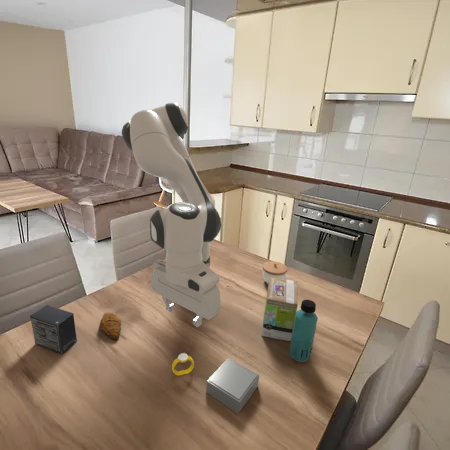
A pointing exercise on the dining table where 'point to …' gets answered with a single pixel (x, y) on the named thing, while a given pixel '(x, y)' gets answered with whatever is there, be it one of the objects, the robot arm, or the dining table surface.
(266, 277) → the lidded jar
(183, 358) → the yellow ring-shaped piece
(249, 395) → the base
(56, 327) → the small box
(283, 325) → the tea box
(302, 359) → the beverage bottle
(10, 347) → the dining table surface
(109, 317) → the croissant
